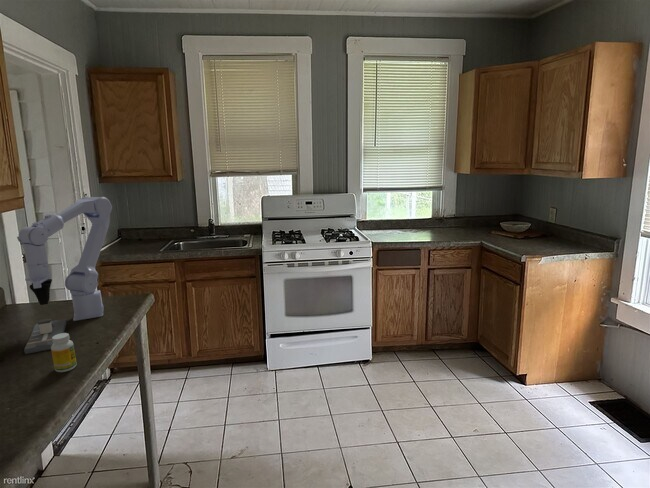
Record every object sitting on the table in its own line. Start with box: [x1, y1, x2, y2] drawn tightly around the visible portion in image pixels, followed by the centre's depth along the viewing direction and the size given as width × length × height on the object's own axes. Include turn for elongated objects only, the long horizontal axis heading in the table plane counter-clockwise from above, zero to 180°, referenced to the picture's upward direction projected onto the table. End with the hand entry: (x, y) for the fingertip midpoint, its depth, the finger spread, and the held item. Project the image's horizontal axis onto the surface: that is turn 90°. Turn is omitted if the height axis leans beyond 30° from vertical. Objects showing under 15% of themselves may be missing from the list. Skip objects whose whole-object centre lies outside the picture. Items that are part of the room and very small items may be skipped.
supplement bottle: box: [50, 332, 78, 373], centre depth 120 cm, size 5×5×10 cm
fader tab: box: [37, 317, 52, 334], centre depth 141 cm, size 3×3×4 cm
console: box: [23, 318, 68, 355], centre depth 142 cm, size 9×22×3 cm, turn 25°
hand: (44, 303), depth 145 cm, fingers closed
